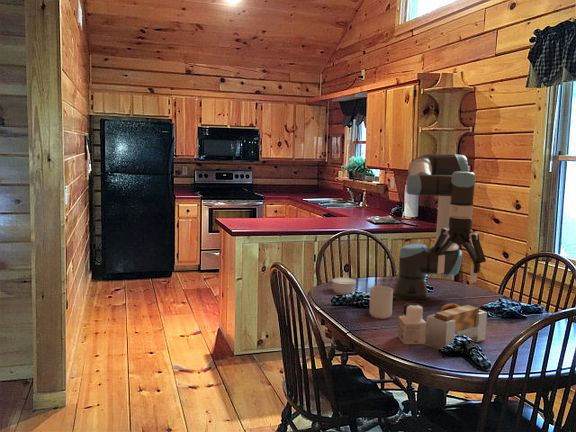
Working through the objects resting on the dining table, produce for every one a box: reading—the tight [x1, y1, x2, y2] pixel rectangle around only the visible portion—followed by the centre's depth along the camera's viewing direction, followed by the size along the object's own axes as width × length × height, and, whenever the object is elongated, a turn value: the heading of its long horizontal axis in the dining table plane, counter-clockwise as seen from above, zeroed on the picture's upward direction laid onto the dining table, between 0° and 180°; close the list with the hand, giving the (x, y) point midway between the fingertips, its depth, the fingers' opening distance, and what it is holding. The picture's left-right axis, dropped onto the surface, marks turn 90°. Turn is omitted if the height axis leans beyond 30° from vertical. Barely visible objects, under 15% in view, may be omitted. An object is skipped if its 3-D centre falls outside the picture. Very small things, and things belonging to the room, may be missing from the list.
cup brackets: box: [424, 309, 488, 351], centre depth 187 cm, size 22×8×10 cm, turn 126°
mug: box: [369, 285, 394, 320], centre depth 216 cm, size 12×9×11 cm
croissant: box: [440, 303, 461, 312], centre depth 213 cm, size 21×10×8 cm, turn 156°
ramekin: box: [331, 277, 357, 295], centre depth 249 cm, size 11×11×5 cm
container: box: [397, 302, 426, 345], centre depth 188 cm, size 8×8×13 cm
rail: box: [434, 304, 480, 333], centre depth 186 cm, size 18×4×6 cm, turn 126°
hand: (456, 277), depth 187 cm, fingers open, 13 cm apart
